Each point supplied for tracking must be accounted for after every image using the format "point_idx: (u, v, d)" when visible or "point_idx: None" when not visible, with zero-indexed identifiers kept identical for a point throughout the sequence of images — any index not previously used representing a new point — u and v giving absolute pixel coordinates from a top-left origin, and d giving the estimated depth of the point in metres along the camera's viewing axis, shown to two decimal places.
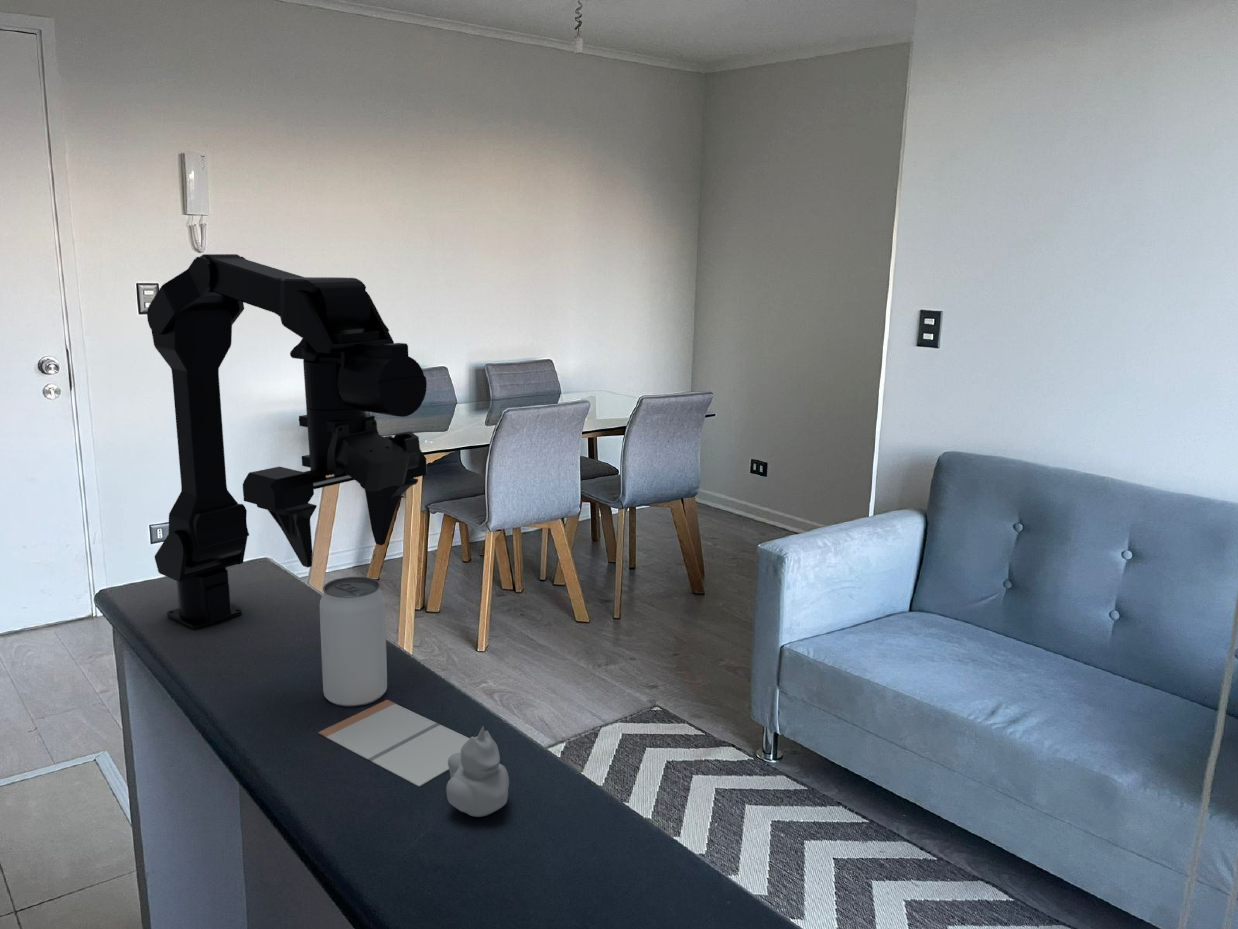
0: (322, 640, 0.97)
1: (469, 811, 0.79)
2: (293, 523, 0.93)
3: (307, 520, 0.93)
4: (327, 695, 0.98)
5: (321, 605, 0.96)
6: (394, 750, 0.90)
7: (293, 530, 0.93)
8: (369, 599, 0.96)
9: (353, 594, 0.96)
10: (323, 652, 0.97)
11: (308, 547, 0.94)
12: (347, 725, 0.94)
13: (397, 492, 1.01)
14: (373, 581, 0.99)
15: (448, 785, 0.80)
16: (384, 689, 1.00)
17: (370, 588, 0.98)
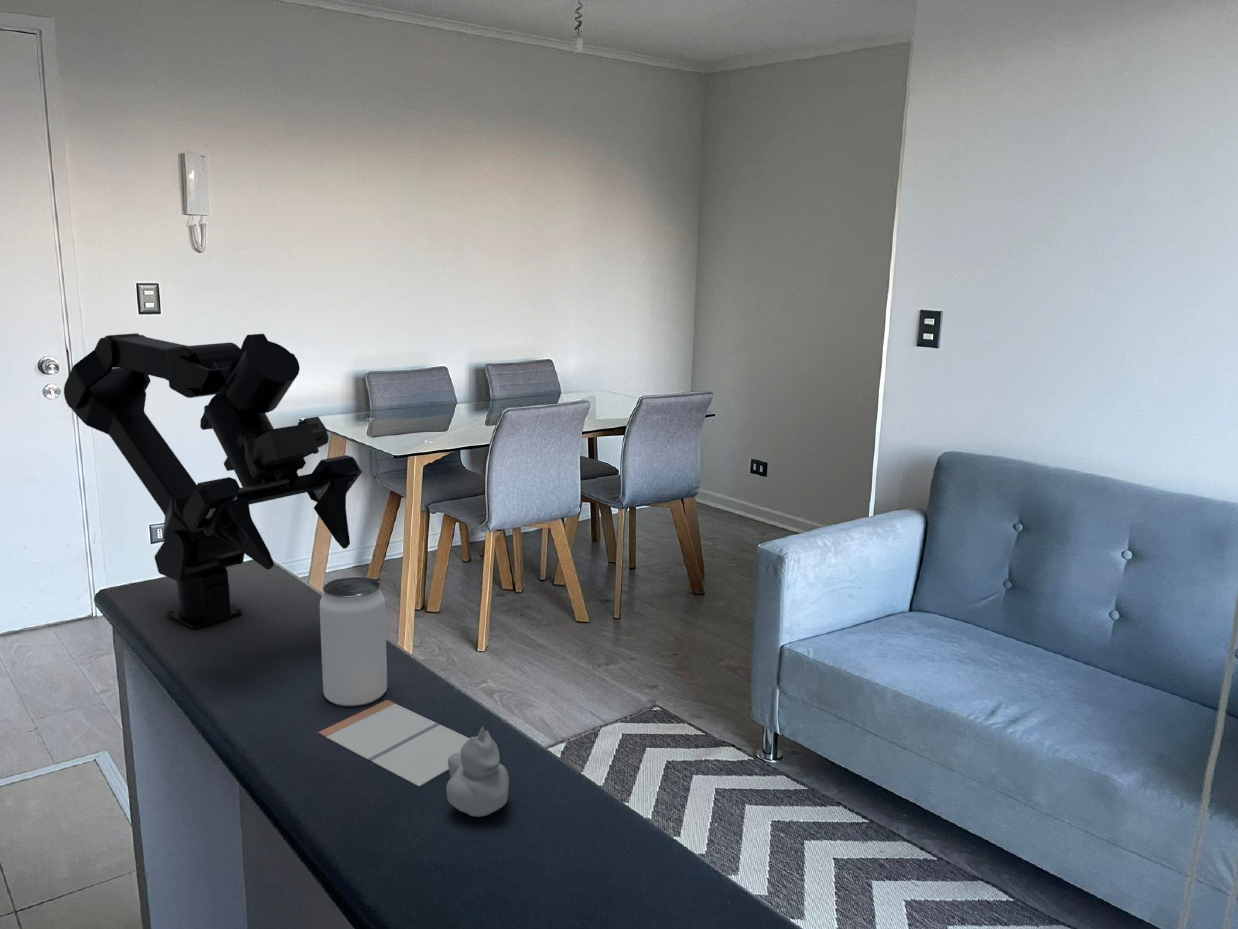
0: (322, 640, 0.97)
1: (469, 811, 0.79)
2: (241, 532, 0.99)
3: (248, 519, 0.98)
4: (327, 695, 0.98)
5: (321, 605, 0.96)
6: (394, 750, 0.90)
7: (243, 538, 0.98)
8: (369, 599, 0.96)
9: (353, 594, 0.96)
10: (323, 652, 0.97)
11: (261, 545, 0.98)
12: (347, 725, 0.94)
13: (337, 490, 1.06)
14: (373, 581, 0.99)
15: (448, 785, 0.80)
16: (384, 689, 1.00)
17: (370, 588, 0.98)
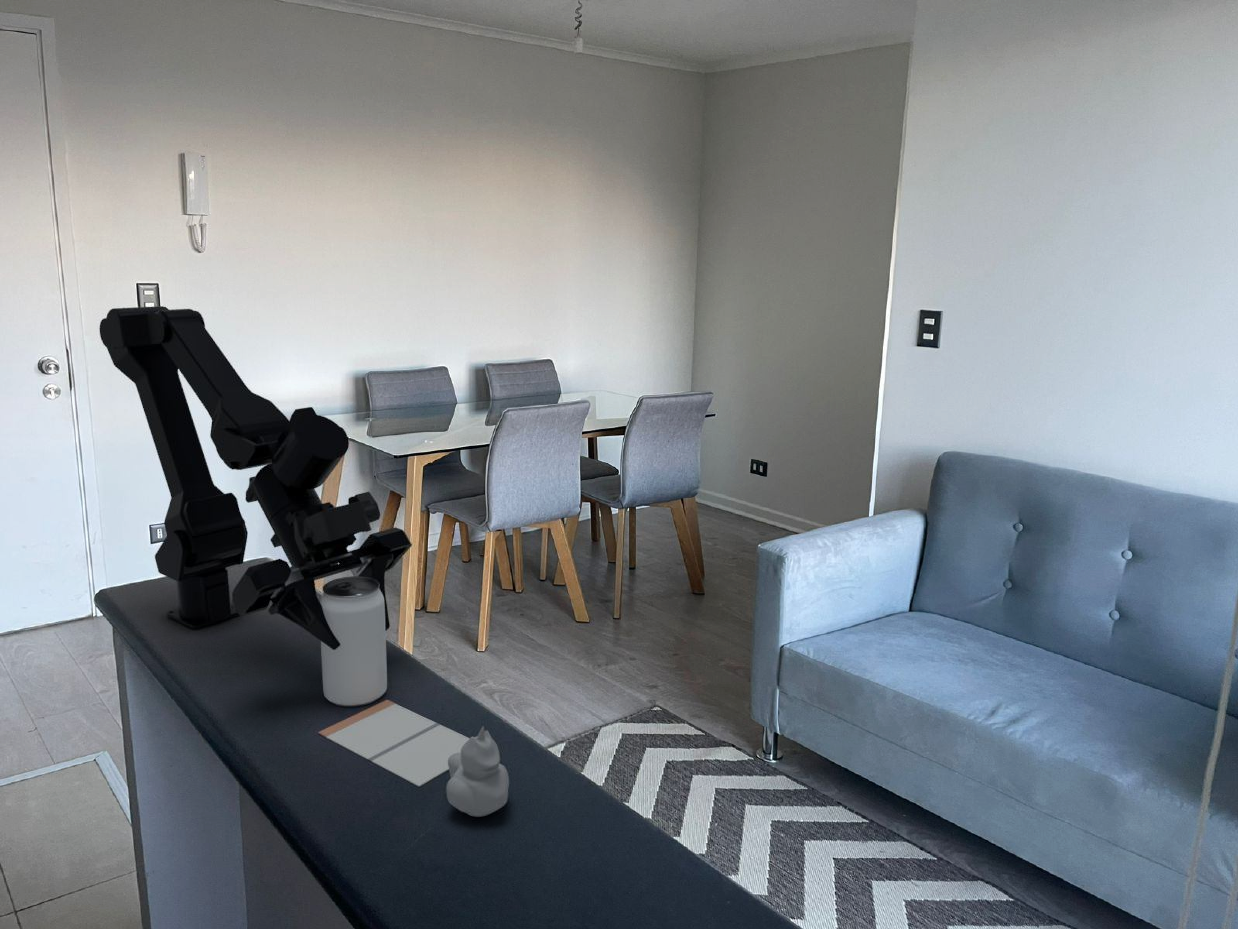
0: None
1: (469, 811, 0.79)
2: (306, 611, 0.96)
3: (314, 598, 0.96)
4: (327, 695, 0.98)
5: None
6: (394, 750, 0.90)
7: (309, 617, 0.96)
8: (368, 599, 0.96)
9: (353, 594, 0.96)
10: (323, 652, 0.97)
11: (327, 625, 0.95)
12: (347, 725, 0.94)
13: (376, 570, 1.01)
14: (373, 581, 0.99)
15: (448, 785, 0.80)
16: (384, 689, 1.00)
17: (370, 588, 0.98)
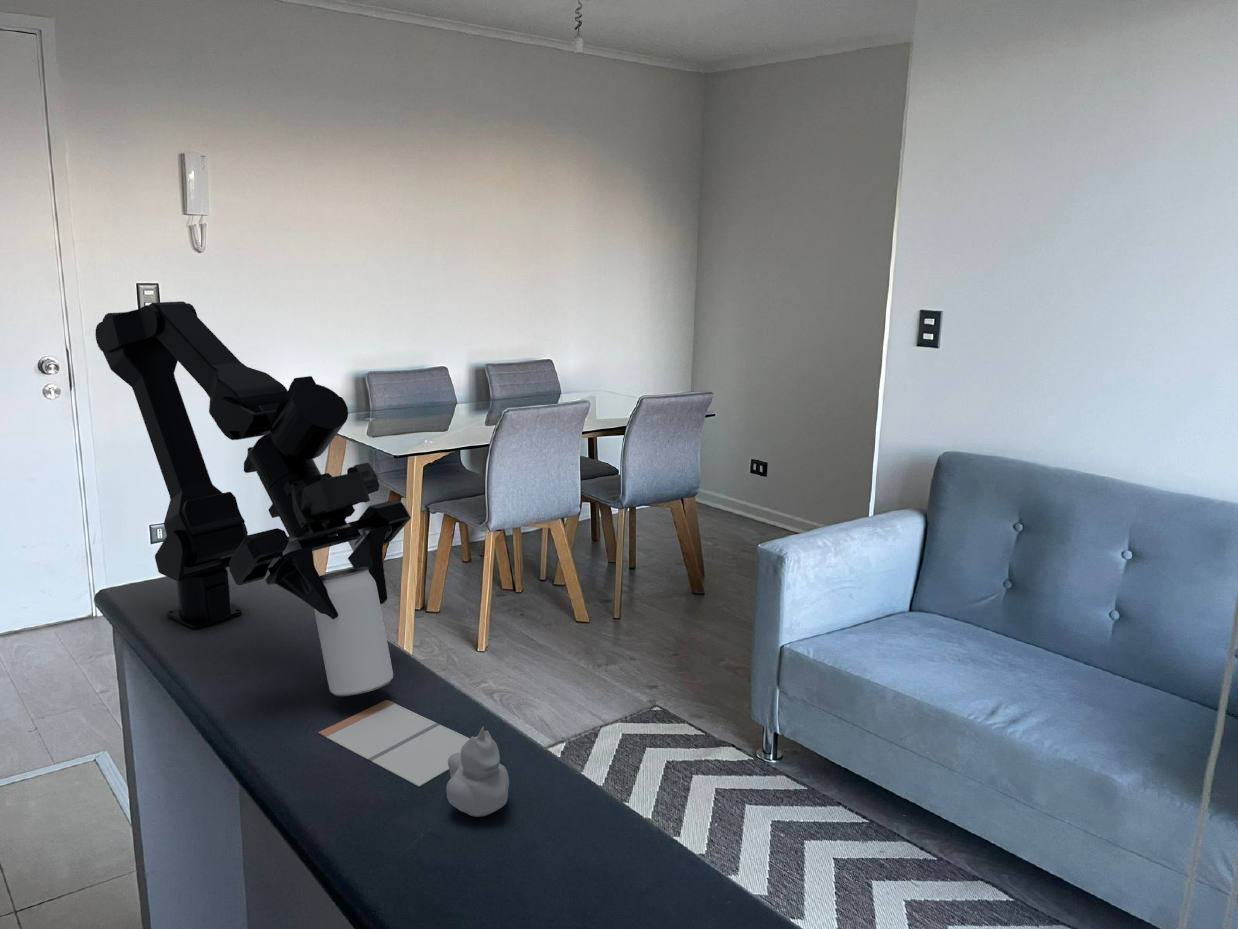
0: (320, 631, 0.96)
1: (469, 811, 0.79)
2: (304, 581, 0.95)
3: (312, 568, 0.95)
4: (334, 688, 0.96)
5: None
6: (394, 750, 0.90)
7: (306, 588, 0.95)
8: (360, 577, 0.96)
9: None
10: (323, 643, 0.96)
11: (325, 595, 0.95)
12: (347, 725, 0.94)
13: (374, 542, 1.00)
14: (361, 569, 1.00)
15: (448, 785, 0.80)
16: (391, 674, 0.98)
17: None
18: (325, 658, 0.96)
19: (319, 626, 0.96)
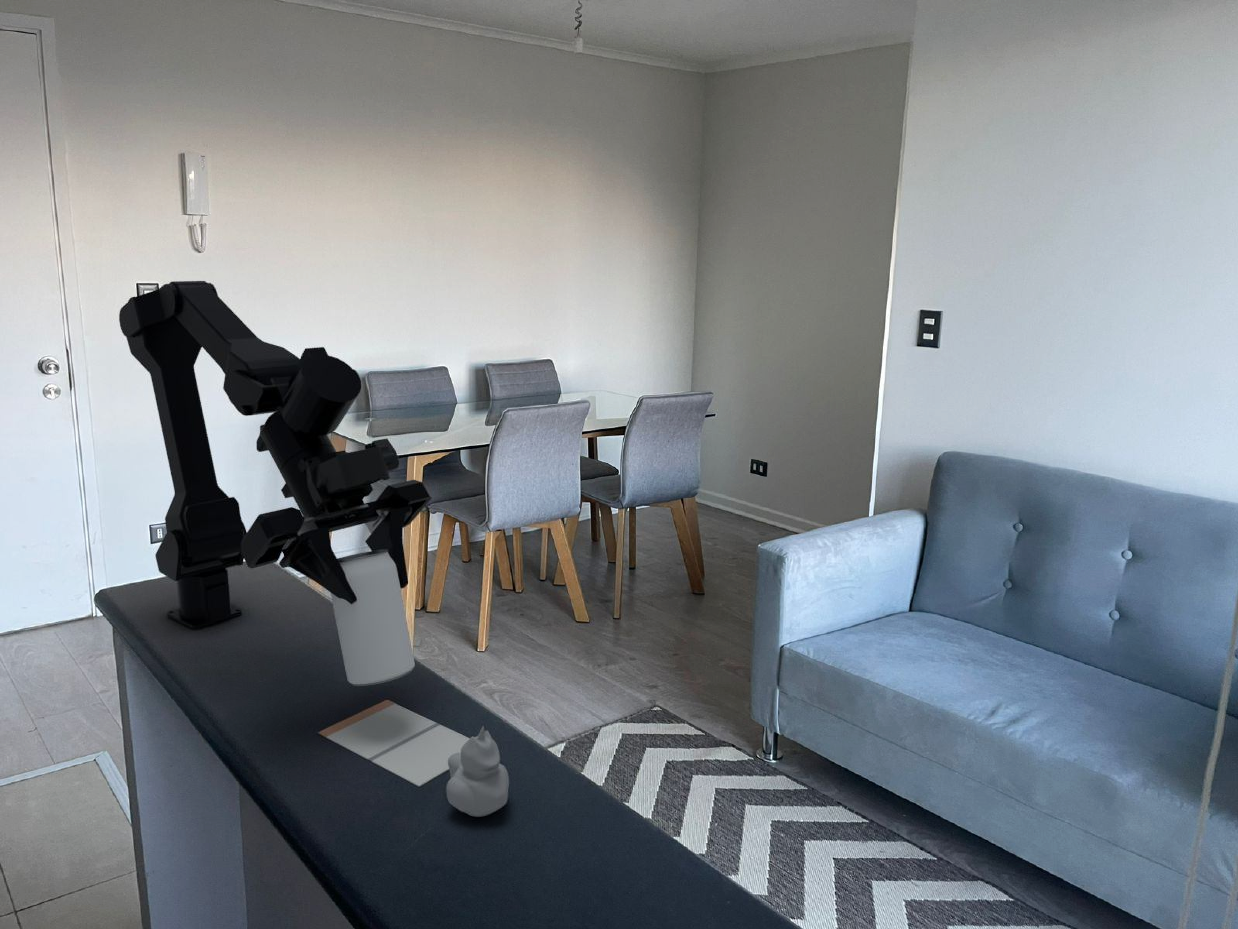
0: (338, 617, 0.90)
1: (469, 811, 0.79)
2: (320, 564, 0.90)
3: (329, 550, 0.89)
4: (353, 677, 0.90)
5: None
6: (394, 750, 0.90)
7: (323, 571, 0.89)
8: (380, 559, 0.91)
9: None
10: (341, 630, 0.90)
11: (343, 578, 0.89)
12: (347, 725, 0.94)
13: (394, 523, 0.95)
14: (380, 551, 0.94)
15: (448, 785, 0.80)
16: (412, 663, 0.92)
17: None
18: (343, 645, 0.90)
19: (336, 611, 0.90)
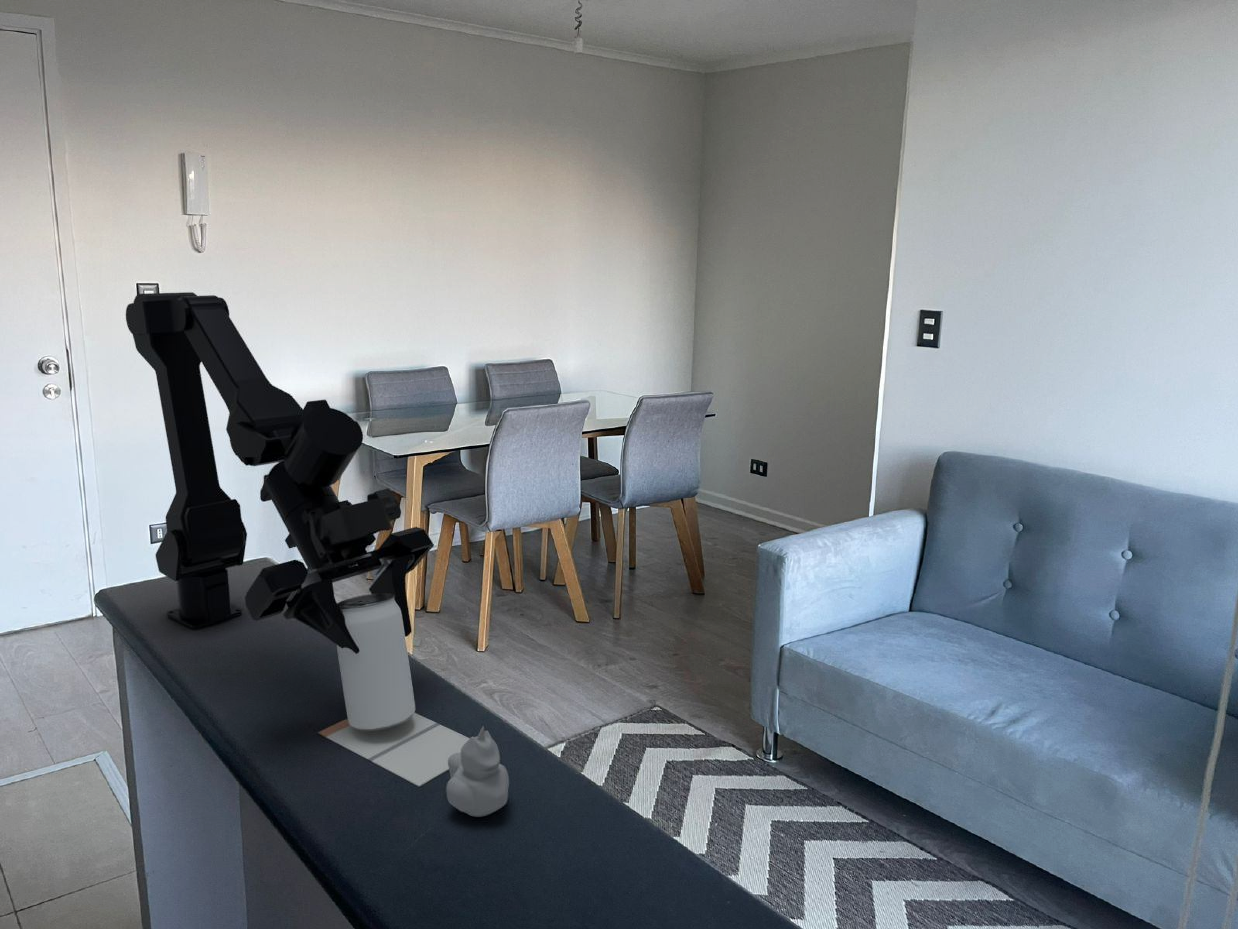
0: (341, 661, 0.91)
1: (469, 811, 0.79)
2: (324, 615, 0.90)
3: (332, 601, 0.90)
4: (354, 722, 0.91)
5: None
6: (394, 750, 0.90)
7: (327, 622, 0.90)
8: (386, 606, 0.91)
9: None
10: (344, 674, 0.91)
11: (346, 629, 0.90)
12: (347, 725, 0.94)
13: (397, 571, 0.95)
14: (386, 595, 0.95)
15: (448, 785, 0.80)
16: (413, 708, 0.93)
17: (385, 599, 0.93)
18: (345, 690, 0.91)
19: (340, 656, 0.91)
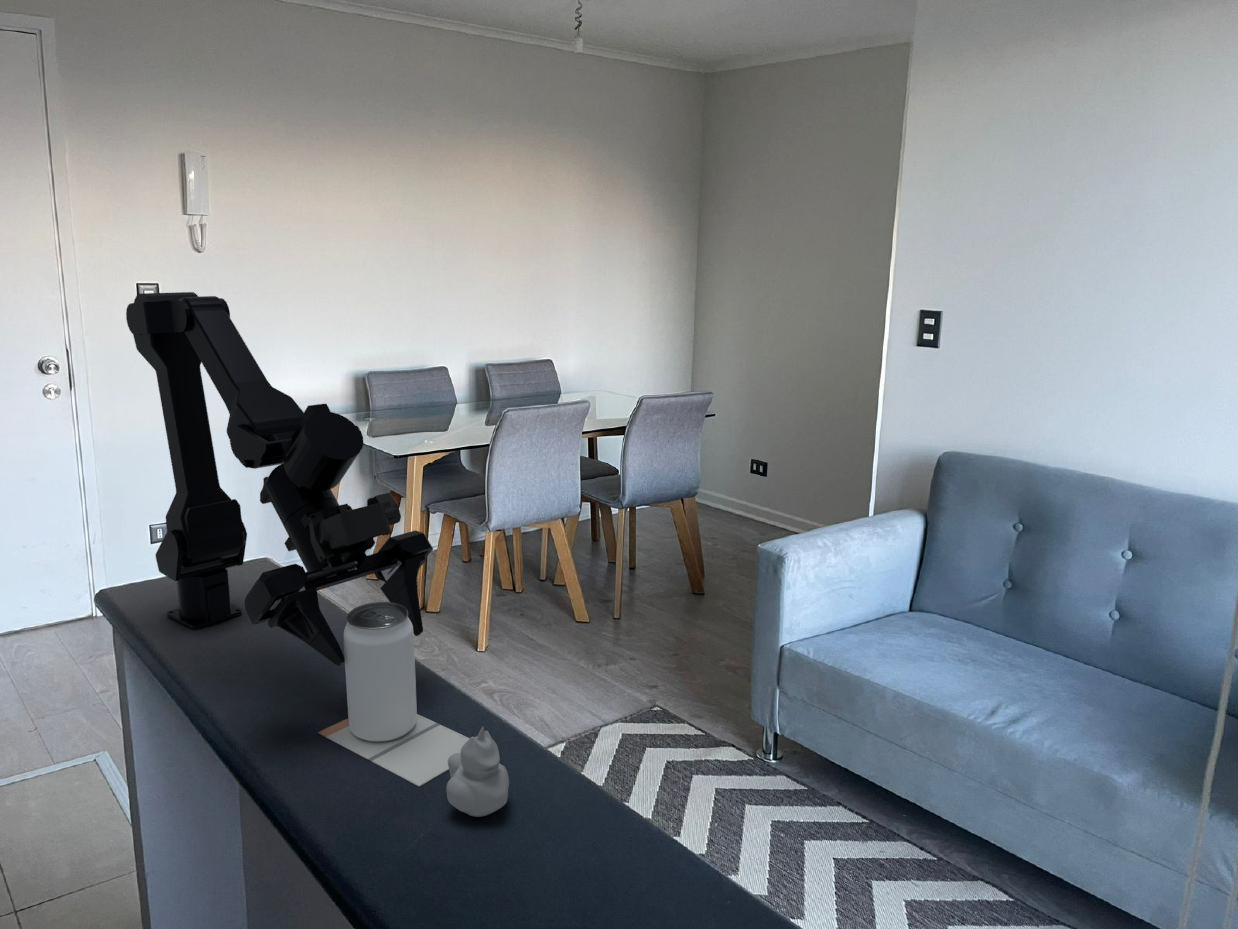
0: (349, 675, 0.89)
1: (469, 811, 0.79)
2: (308, 624, 0.89)
3: (317, 610, 0.89)
4: (356, 732, 0.91)
5: (347, 638, 0.88)
6: (394, 750, 0.90)
7: (311, 631, 0.89)
8: (400, 628, 0.89)
9: (382, 624, 0.89)
10: (350, 687, 0.90)
11: (331, 639, 0.89)
12: (347, 725, 0.94)
13: (409, 571, 0.97)
14: (398, 606, 0.92)
15: (448, 785, 0.80)
16: (415, 719, 0.93)
17: (398, 615, 0.91)
18: (350, 700, 0.90)
19: (348, 670, 0.89)
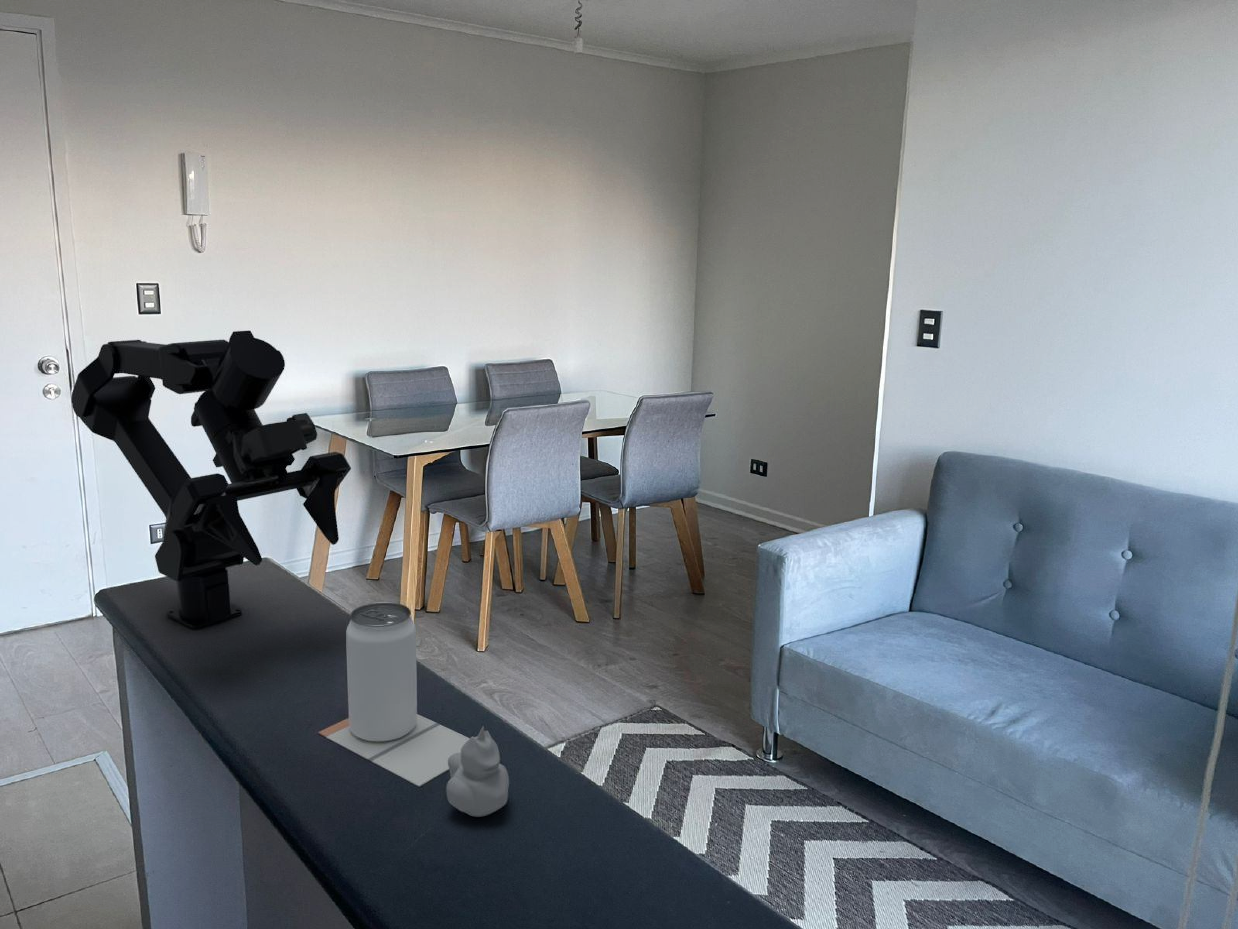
0: (350, 673, 0.90)
1: (469, 811, 0.79)
2: (229, 528, 0.99)
3: (236, 515, 0.98)
4: (356, 731, 0.91)
5: (350, 635, 0.89)
6: (394, 750, 0.90)
7: (232, 534, 0.99)
8: (402, 626, 0.89)
9: (385, 622, 0.89)
10: (352, 686, 0.90)
11: (249, 540, 0.98)
12: (347, 725, 0.94)
13: (326, 486, 1.06)
14: (401, 606, 0.93)
15: (448, 785, 0.80)
16: (415, 721, 0.93)
17: (401, 615, 0.91)
18: (351, 699, 0.91)
19: (350, 668, 0.90)
